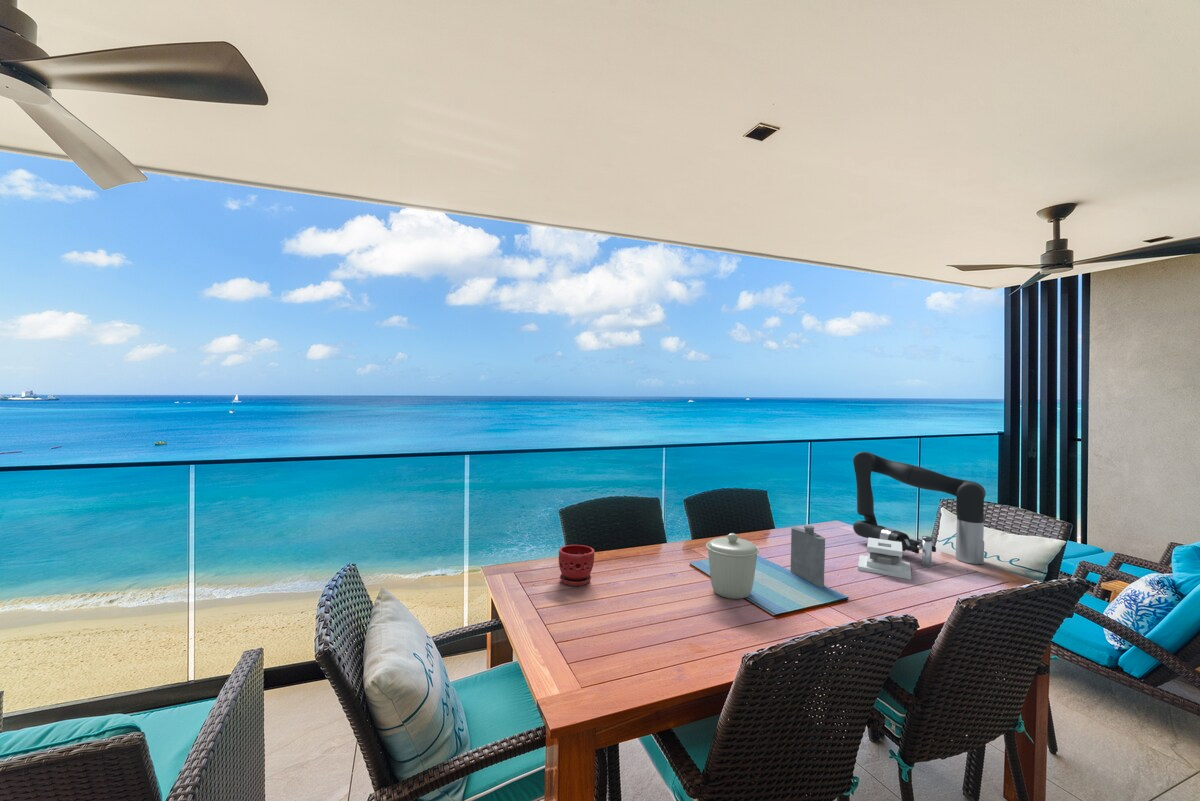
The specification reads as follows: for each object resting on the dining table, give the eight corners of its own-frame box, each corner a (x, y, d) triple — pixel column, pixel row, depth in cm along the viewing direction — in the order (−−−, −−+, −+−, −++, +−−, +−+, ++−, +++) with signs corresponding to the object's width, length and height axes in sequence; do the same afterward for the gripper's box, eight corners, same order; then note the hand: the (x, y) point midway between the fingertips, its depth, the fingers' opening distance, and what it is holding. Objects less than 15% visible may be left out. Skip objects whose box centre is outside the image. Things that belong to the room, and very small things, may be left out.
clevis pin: (931, 565, 202) (932, 536, 202) (932, 568, 199) (933, 539, 198) (921, 564, 204) (921, 535, 203) (921, 566, 201) (922, 537, 200)
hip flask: (788, 571, 194) (789, 521, 193) (796, 570, 195) (798, 520, 195) (819, 587, 179) (820, 532, 178) (827, 585, 180) (829, 531, 180)
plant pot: (589, 589, 174) (590, 556, 174) (554, 586, 177) (554, 553, 176) (597, 576, 187) (597, 544, 187) (563, 573, 189) (564, 542, 189)
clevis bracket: (909, 566, 201) (910, 543, 201) (911, 580, 186) (911, 555, 186) (859, 558, 210) (860, 536, 210) (857, 570, 195) (858, 547, 195)
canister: (721, 607, 162) (722, 543, 161) (696, 585, 179) (697, 528, 178) (769, 601, 166) (770, 539, 166) (740, 580, 184) (741, 524, 183)
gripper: (881, 531, 215) (913, 542, 199) (907, 529, 218) (941, 540, 203) (880, 548, 215) (912, 560, 199) (907, 545, 219) (940, 558, 203)
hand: (927, 550), depth 201 cm, fingers open, 8 cm apart
